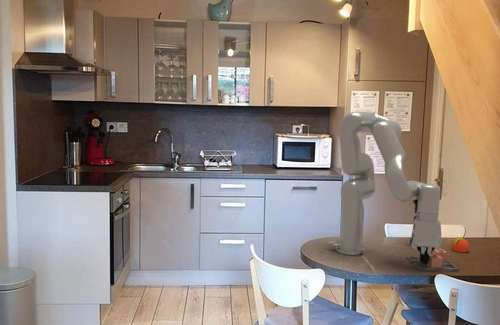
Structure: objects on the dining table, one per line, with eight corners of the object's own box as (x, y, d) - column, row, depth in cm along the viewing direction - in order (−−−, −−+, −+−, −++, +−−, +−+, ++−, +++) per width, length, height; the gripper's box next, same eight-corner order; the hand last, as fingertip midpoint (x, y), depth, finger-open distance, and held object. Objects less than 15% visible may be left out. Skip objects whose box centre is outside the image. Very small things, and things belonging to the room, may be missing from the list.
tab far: (436, 263, 179) (437, 250, 179) (432, 259, 183) (433, 247, 183) (446, 263, 179) (447, 250, 179) (442, 260, 183) (443, 247, 183)
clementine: (461, 257, 192) (463, 241, 192) (446, 252, 198) (447, 237, 197) (471, 254, 197) (472, 238, 196) (456, 250, 203) (457, 234, 202)
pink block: (431, 269, 172) (432, 255, 171) (427, 265, 176) (428, 252, 175) (441, 269, 172) (442, 256, 171) (437, 266, 176) (438, 252, 175)
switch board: (408, 274, 169) (409, 268, 169) (394, 259, 186) (394, 254, 186) (472, 276, 169) (473, 270, 169) (452, 261, 186) (452, 256, 186)
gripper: (411, 218, 168) (407, 265, 170) (451, 219, 168) (447, 267, 170) (404, 213, 175) (401, 259, 177) (443, 214, 175) (439, 260, 177)
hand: (423, 263), depth 173 cm, fingers closed
